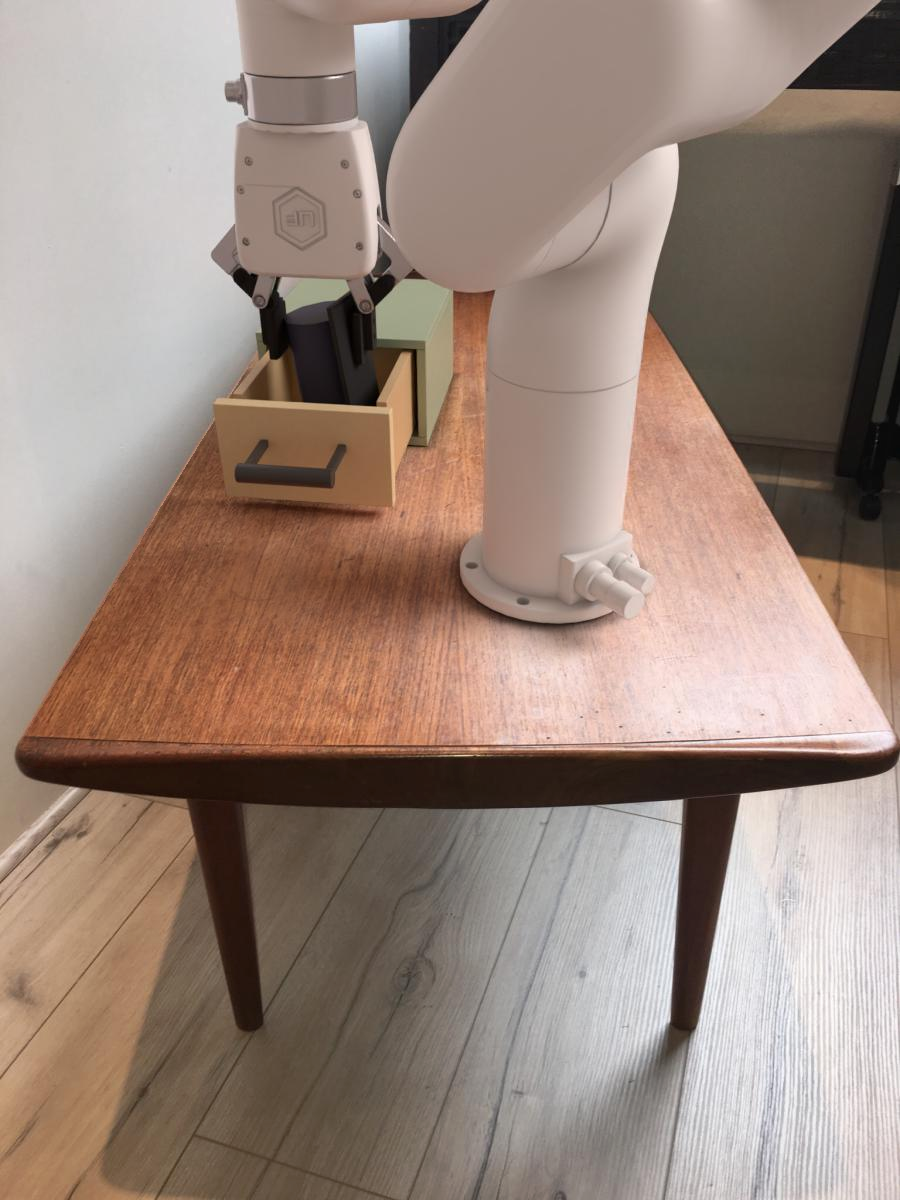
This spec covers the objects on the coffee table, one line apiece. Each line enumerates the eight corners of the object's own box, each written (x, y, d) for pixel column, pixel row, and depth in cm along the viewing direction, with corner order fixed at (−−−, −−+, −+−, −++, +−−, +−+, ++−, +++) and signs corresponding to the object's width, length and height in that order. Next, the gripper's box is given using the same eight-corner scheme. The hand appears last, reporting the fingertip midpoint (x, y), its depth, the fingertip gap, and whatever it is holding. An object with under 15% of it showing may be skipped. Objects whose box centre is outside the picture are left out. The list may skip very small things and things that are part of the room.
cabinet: (427, 446, 87) (425, 340, 82) (267, 436, 89) (255, 332, 84) (453, 375, 101) (453, 280, 96) (313, 368, 103) (305, 274, 97)
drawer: (378, 546, 72) (373, 448, 67) (200, 533, 73) (184, 436, 69) (425, 424, 89) (423, 339, 85) (280, 415, 91) (271, 332, 86)
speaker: (404, 413, 81) (387, 285, 75) (356, 441, 77) (333, 309, 71) (338, 397, 85) (317, 275, 79) (289, 423, 81) (263, 297, 76)
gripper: (159, 107, 65) (198, 368, 76) (417, 113, 63) (421, 380, 74) (199, 90, 72) (230, 334, 82) (435, 96, 70) (437, 345, 80)
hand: (320, 354), depth 78 cm, fingers closed on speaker, 6 cm apart
